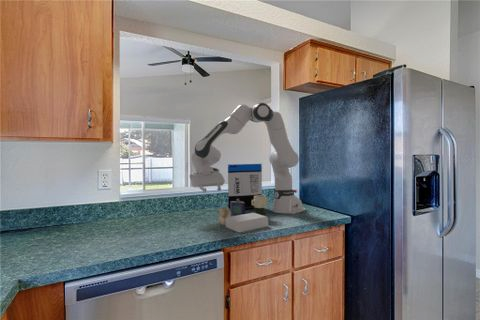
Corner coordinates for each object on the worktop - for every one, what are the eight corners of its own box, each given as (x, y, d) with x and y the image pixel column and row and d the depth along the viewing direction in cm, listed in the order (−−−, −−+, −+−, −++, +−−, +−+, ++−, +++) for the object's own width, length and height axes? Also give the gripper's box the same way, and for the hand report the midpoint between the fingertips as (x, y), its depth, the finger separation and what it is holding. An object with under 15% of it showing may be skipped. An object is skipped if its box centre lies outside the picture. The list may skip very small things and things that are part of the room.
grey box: (253, 221, 148) (253, 212, 148) (268, 226, 138) (268, 216, 138) (225, 226, 138) (225, 217, 138) (239, 232, 128) (238, 222, 128)
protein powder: (264, 208, 182) (264, 164, 181) (230, 211, 174) (230, 164, 173) (259, 205, 191) (258, 163, 190) (226, 208, 183) (225, 164, 182)
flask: (229, 216, 160) (229, 198, 159) (231, 215, 162) (231, 197, 162) (244, 218, 156) (243, 199, 155) (246, 217, 158) (245, 199, 158)
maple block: (225, 222, 147) (225, 207, 147) (229, 223, 144) (229, 208, 144) (219, 223, 145) (219, 208, 145) (223, 225, 142) (223, 209, 141)
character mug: (265, 216, 160) (265, 194, 160) (271, 218, 154) (271, 196, 153) (248, 218, 155) (248, 195, 155) (254, 221, 149) (254, 197, 149)
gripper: (190, 169, 154) (197, 188, 146) (221, 168, 166) (229, 186, 158) (186, 177, 158) (194, 196, 150) (217, 175, 169) (225, 193, 162)
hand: (212, 191), depth 154 cm, fingers open, 8 cm apart
